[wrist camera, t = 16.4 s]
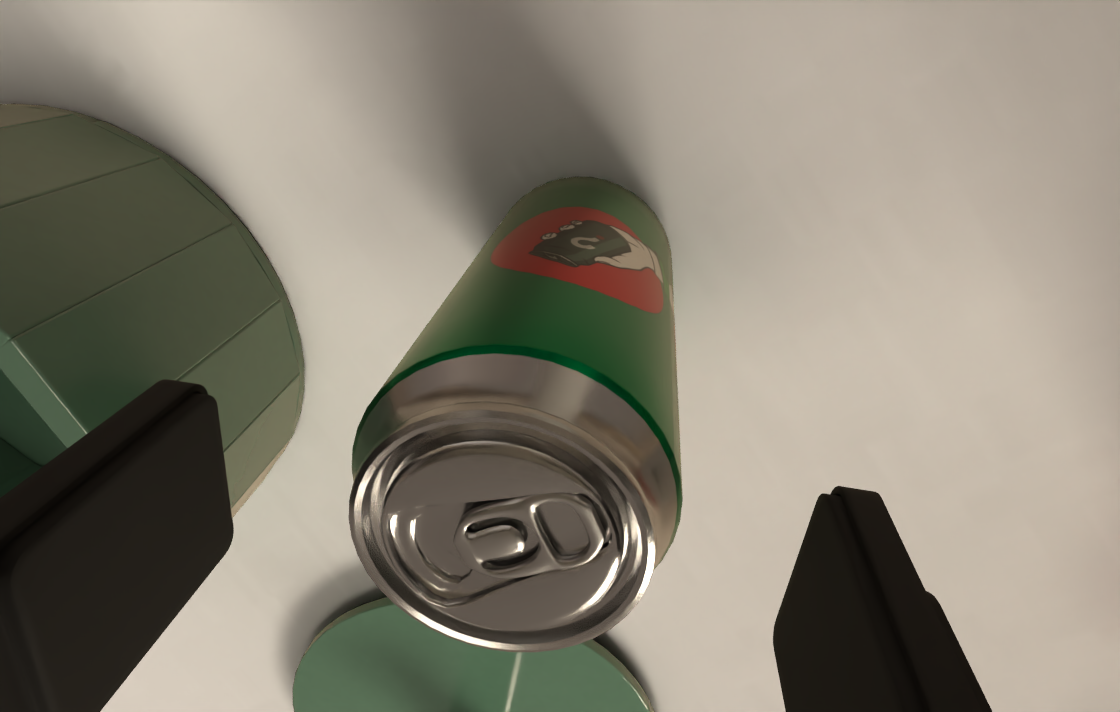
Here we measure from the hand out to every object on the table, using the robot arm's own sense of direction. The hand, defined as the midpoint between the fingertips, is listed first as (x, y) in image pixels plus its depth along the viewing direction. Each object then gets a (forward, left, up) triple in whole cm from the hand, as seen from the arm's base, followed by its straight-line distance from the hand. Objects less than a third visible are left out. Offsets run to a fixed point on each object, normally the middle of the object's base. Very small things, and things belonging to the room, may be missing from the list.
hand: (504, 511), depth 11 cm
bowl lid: (+21, -2, -10) cm, 23 cm away
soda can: (0, 0, -11) cm, 11 cm away
